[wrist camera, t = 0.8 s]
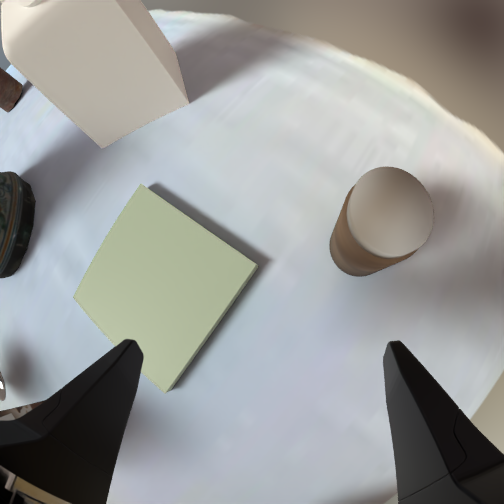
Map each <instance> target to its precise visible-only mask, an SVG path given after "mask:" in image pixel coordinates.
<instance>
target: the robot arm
mask: <svg viewBox="0 0 504 504" xmlns="http://www.w3.org/2000/svg"><path fill="white" fill-rule="evenodd" d="M143 360H144V355H143V352H142V350H141V349H140V347H139V345H138V343H137V342H136V341H135V340H133V339H125V340H123V341H122V342H120V343H119V344H118V345H117V346H115V347H114V348H113V349H111V350H110V351H109V352H108V353H106V354H105V355H104V356H102V357H101V358H100V359H99V360H97V361H96V362H95V363H93V364H92V365H91V366H90V367H88V368H87V369H86V370H84V371H83V372H82V373H81V374H79V375H78V376H77V377H76V378H74V379H73V380H72V381H70V382H69V383H68V384H67V385H65V386H64V387H63V388H62V389H60V390H59V391H58V392H56V393H55V394H54V395H52V396H51V397H50V398H48V399H47V400H46V401H44V402H43V403H41V404H40V405H38V406H37V407H35V408H34V409H32V410H31V411H29V412H27V413H26V414H24V415H23V416H21V417H19V418H17V419H14V420H0V504H106V502H107V497H108V493H109V489H110V484H111V480H112V476H113V472H114V468H115V464H116V460H117V456H118V453H119V449H120V445H121V442H122V438H123V435H124V431H125V428H126V425H127V421H128V418H129V415H130V411H131V408H132V405H133V402H134V399H135V395H136V392H137V388H138V383H139V378H140V373H141V369H142V364H143ZM383 367H384V378H385V392H386V403H387V410H388V416H389V422H390V428H391V435H392V442H393V450H394V458H395V467H396V477H397V489H398V501H399V502H398V504H504V454H503V453H501V452H500V451H499V450H498V449H497V448H496V447H495V446H494V445H493V444H492V443H491V442H490V441H489V440H488V439H487V438H486V437H485V436H484V435H483V434H482V433H481V432H480V431H479V430H478V429H477V428H476V427H475V426H474V425H473V423H472V422H471V421H470V420H469V419H468V418H467V416H466V415H465V414H464V413H463V412H462V410H461V409H459V407H458V406H457V405H456V403H455V402H454V401H453V400H452V399H451V397H450V396H449V395H448V394H447V393H446V392H445V390H444V389H443V388H442V387H441V386H440V385H439V383H438V382H437V381H436V380H435V379H434V378H433V376H432V375H431V374H430V373H429V372H428V371H427V370H426V369H425V367H424V366H423V365H422V364H421V363H420V362H419V361H418V360H417V358H416V357H415V356H414V355H413V354H412V353H411V352H410V351H409V350H408V348H407V347H406V346H405V345H404V344H403V343H402V342H401V341H390V342H389V343H388V344H387V347H386V351H385V354H384V357H383Z"/></svg>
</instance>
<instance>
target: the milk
mask: <svg viewBox="0 0 504 504" xmlns="http://www.w3.org/2000/svg"><path fill="white" fill-rule="evenodd" d="M0 1H1V3H2V5H1V29H2V30H1V31H2V45H3V50H4V53H5V55H6V57H7V59H8V60H9V62H10V63H11V64H12V65H13V66H14V67H15V68H16V69H17V70H18V71H19V72H20V73H21V74H22V75H23V76H24V77H25V78H26V79H28V80H29V81H30V82H31V83H32V84H33V85H34V86H35V87H36V88H37V89H38V90H39V91H40V92H41V93H42V94H43V95H44V96H45V97H47V98H48V99H49V100H50V101H51V102H52V103H53V104H54V105H55V106H56V107H57V108H58V109H59V110H60V111H62V112H63V113H64V114H65V115H66V116H67V117H68V118H69V119H70V120H71V121H72V122H73V123H75V124H76V125H77V126H78V127H79V128H80V129H81V130H82V131H83V132H84V133H85V134H87V135H88V136H89V137H90V138H91V139H92V140H93V141H94V142H95V143H97V144H98V145H99V146H100V147H101V148H102V149H103V148H105V147H107V146H108V145H110V144H112V143H113V142H115V141H117V140H119V139H120V138H122V137H124V136H126V135H127V134H129V133H131V132H133V131H135V130H137V129H138V128H140V127H142V126H144V125H146V124H148V123H150V122H152V121H154V120H156V119H158V118H160V117H162V116H164V115H166V114H168V113H171V112H173V111H175V110H177V109H179V108H181V107H184V106H186V105H188V104H189V100H188V97H187V93H186V89H185V86H184V82H183V78H182V74H181V71H180V67H179V63H178V59H177V56H176V53H175V51H174V49H173V48H172V46H171V45H170V43H169V42H168V40H167V39H166V37H165V36H164V34H163V33H162V31H161V30H160V28H159V27H158V25H157V24H156V22H155V21H154V19H153V18H152V16H151V15H150V13H149V12H148V11H147V9H146V8H145V6H144V5H143V3H142V2H141V0H0Z"/></svg>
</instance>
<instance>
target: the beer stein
mask: <svg viewBox="0 0 504 504" xmlns="http://www.w3.org/2000/svg"><path fill="white" fill-rule="evenodd" d="M34 210H35V198H34V195H33V192H32V189H31V186H30V185H29V184H28V183H26V182H25V181H23V180H22V179H21V178H20V177H19V176H18V175H17V174H16V173H14V172H0V278H6V277H9V276H12V274H13V273H14V272H15V271H16V270H17V269H18V268H19V266H20V264H21V261H22V259H23V257H24V255H25V253H26V250H27V247H28V243H29V239H30V235H31V232H32V228H33V220H34Z"/></svg>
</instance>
